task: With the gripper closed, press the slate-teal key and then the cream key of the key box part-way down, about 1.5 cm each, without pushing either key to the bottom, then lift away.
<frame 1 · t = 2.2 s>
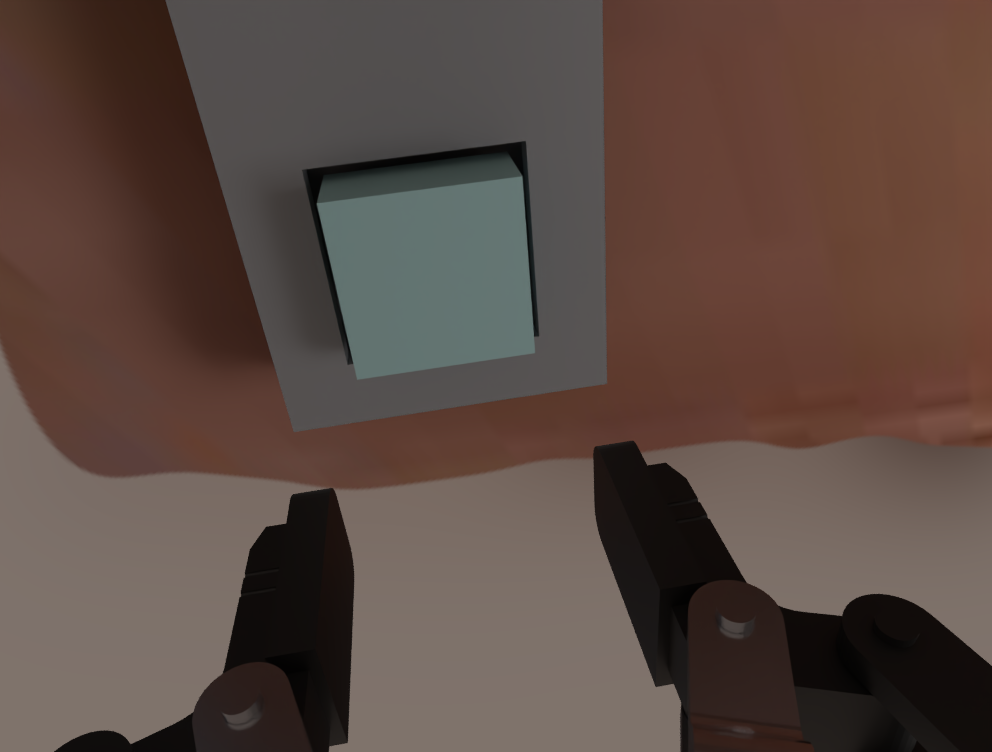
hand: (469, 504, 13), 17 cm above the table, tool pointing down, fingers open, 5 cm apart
key box: (398, 48, 25), on the table
teal key: (431, 265, 24), point 5 cm above the table, slide at 0.0 cm
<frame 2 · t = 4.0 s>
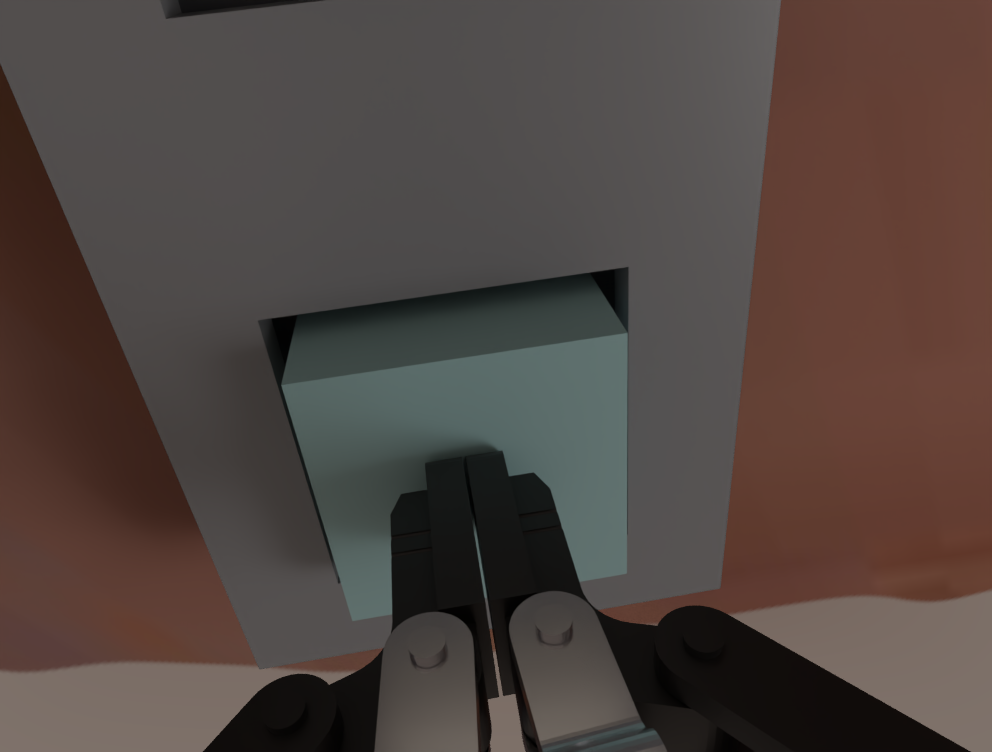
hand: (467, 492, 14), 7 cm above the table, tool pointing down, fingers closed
key box: (415, 102, 16), on the table
teal key: (468, 445, 15), point 5 cm above the table, slide at 0.4 cm, touching gripper
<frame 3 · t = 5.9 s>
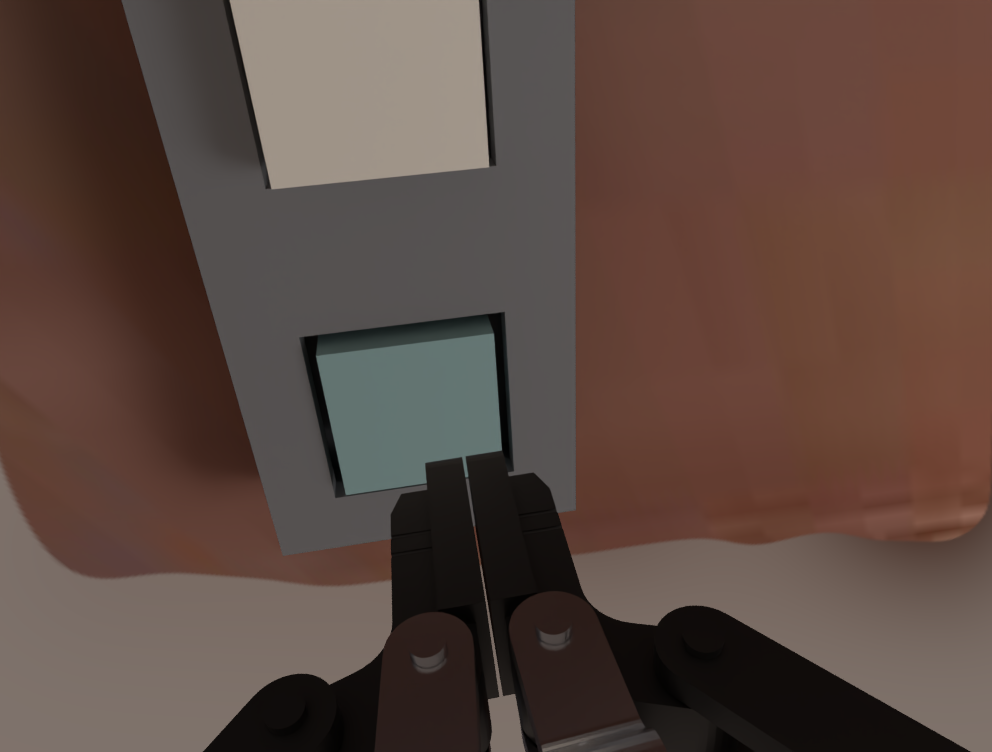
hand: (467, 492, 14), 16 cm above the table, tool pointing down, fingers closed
key box: (388, 208, 27), on the table
cream key: (365, 53, 19), point 5 cm above the table, slide at 0.0 cm
teal key: (413, 396, 27), point 4 cm above the table, slide at 1.5 cm
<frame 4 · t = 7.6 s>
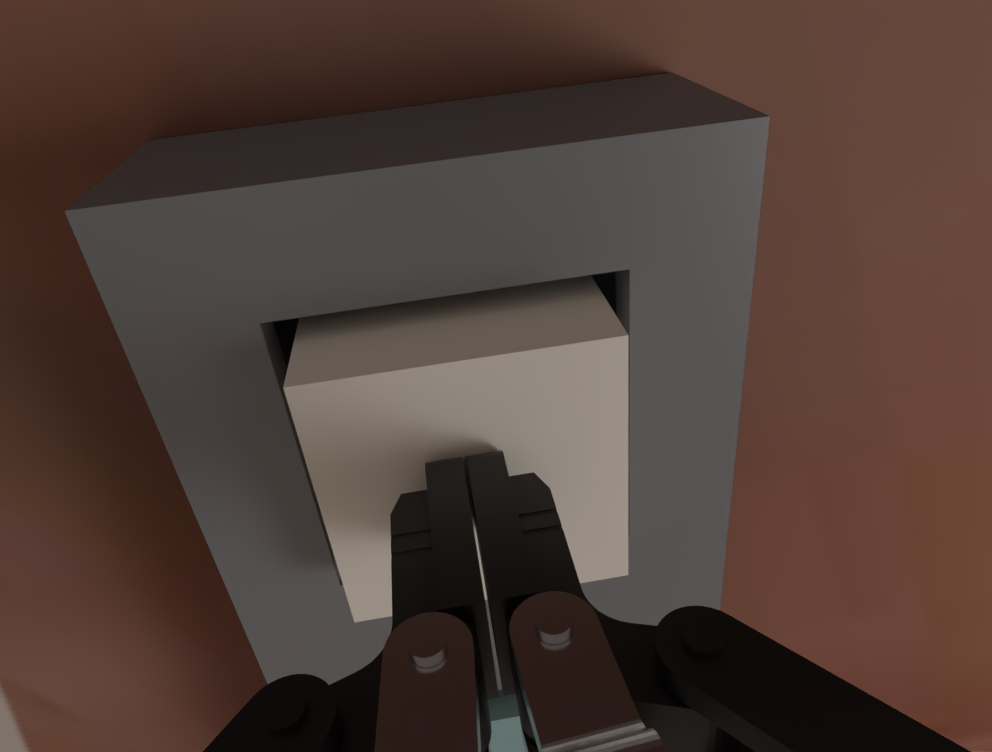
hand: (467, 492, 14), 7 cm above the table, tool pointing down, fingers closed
key box: (475, 501, 23), on the table
cream key: (469, 447, 15), point 5 cm above the table, slide at 0.4 cm, touching gripper
teal key: (511, 730, 22), point 4 cm above the table, slide at 1.5 cm
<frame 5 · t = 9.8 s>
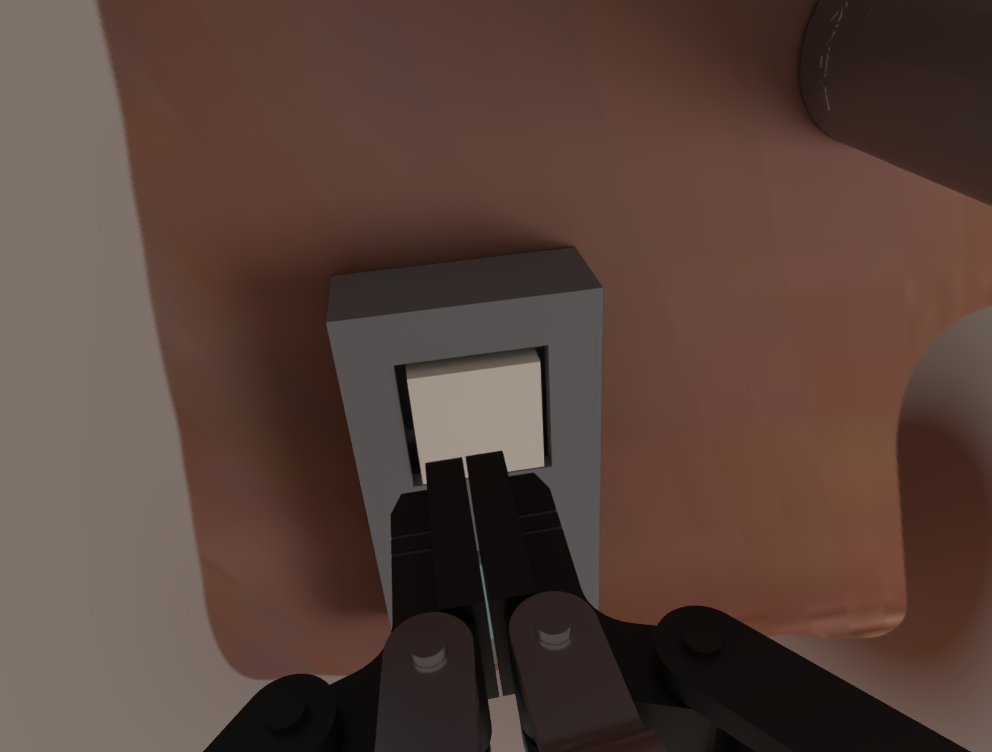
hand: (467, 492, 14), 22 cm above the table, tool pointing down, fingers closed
key box: (474, 455, 41), on the table
cream key: (475, 407, 35), point 4 cm above the table, slide at 1.5 cm
teal key: (492, 581, 41), point 4 cm above the table, slide at 1.5 cm
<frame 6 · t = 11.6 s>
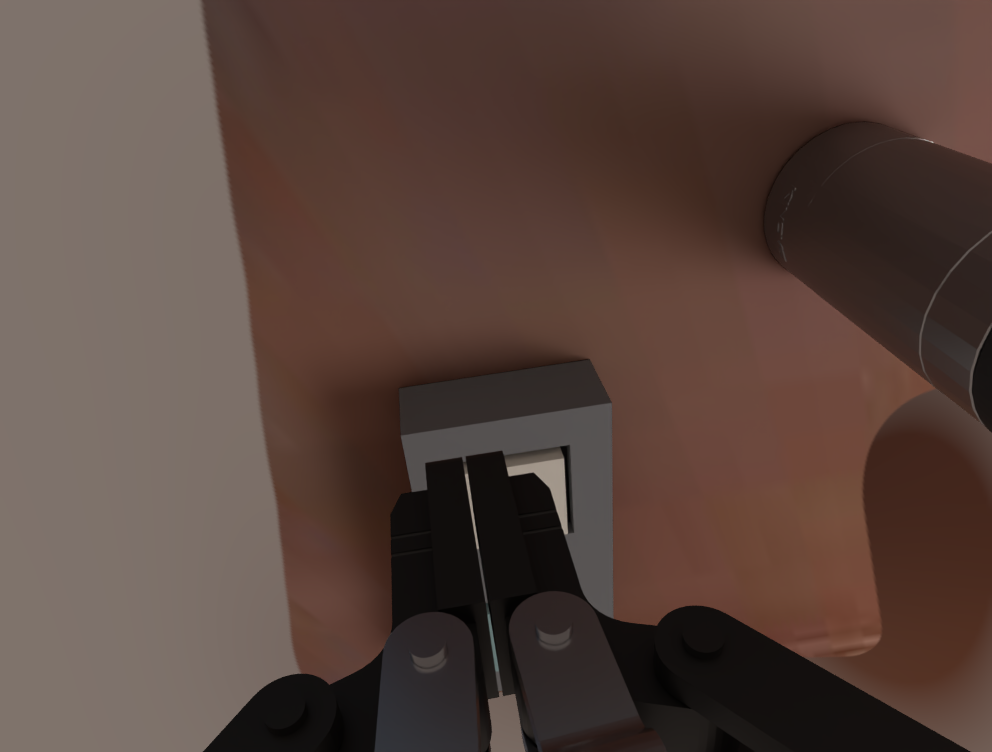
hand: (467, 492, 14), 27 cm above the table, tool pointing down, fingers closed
key box: (510, 517, 51), on the table
cream key: (512, 489, 44), point 4 cm above the table, slide at 1.5 cm
teal key: (526, 619, 50), point 4 cm above the table, slide at 1.5 cm
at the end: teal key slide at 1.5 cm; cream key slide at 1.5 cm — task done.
